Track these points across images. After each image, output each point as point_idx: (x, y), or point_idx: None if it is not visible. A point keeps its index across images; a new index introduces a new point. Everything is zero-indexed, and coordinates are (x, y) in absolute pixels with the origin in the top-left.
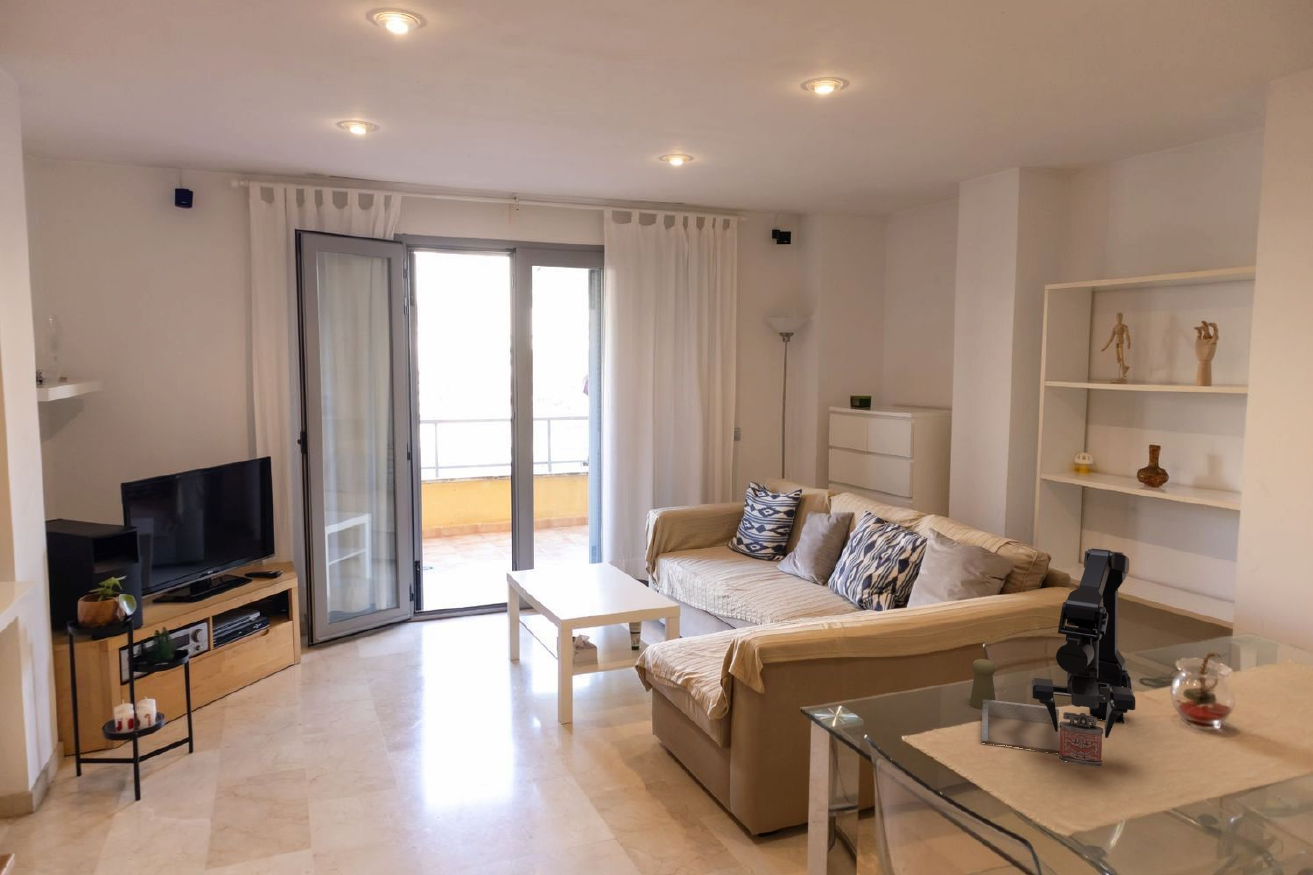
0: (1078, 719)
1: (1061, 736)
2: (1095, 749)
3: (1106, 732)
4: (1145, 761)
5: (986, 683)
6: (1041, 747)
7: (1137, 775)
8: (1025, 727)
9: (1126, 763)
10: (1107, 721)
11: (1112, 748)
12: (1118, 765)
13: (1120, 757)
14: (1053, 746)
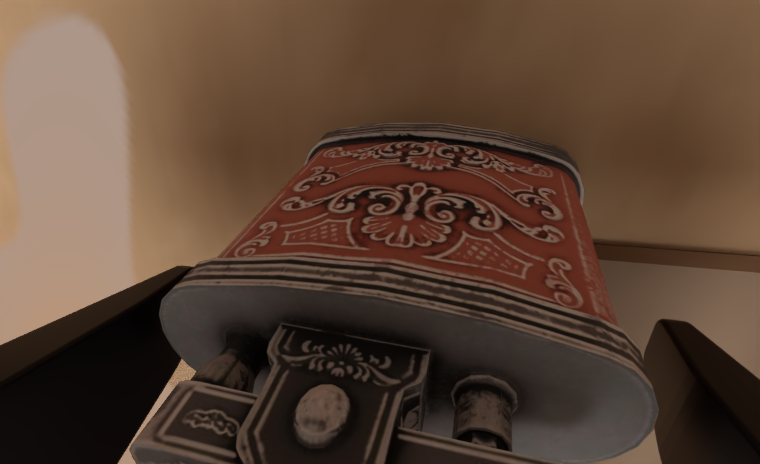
0: (388, 450)
1: (600, 275)
2: (309, 182)
3: (146, 293)
4: (152, 259)
5: None
6: (687, 282)
7: (131, 76)
8: None
9: (211, 218)
10: (28, 397)
11: None
12: (239, 183)
13: None
14: None
